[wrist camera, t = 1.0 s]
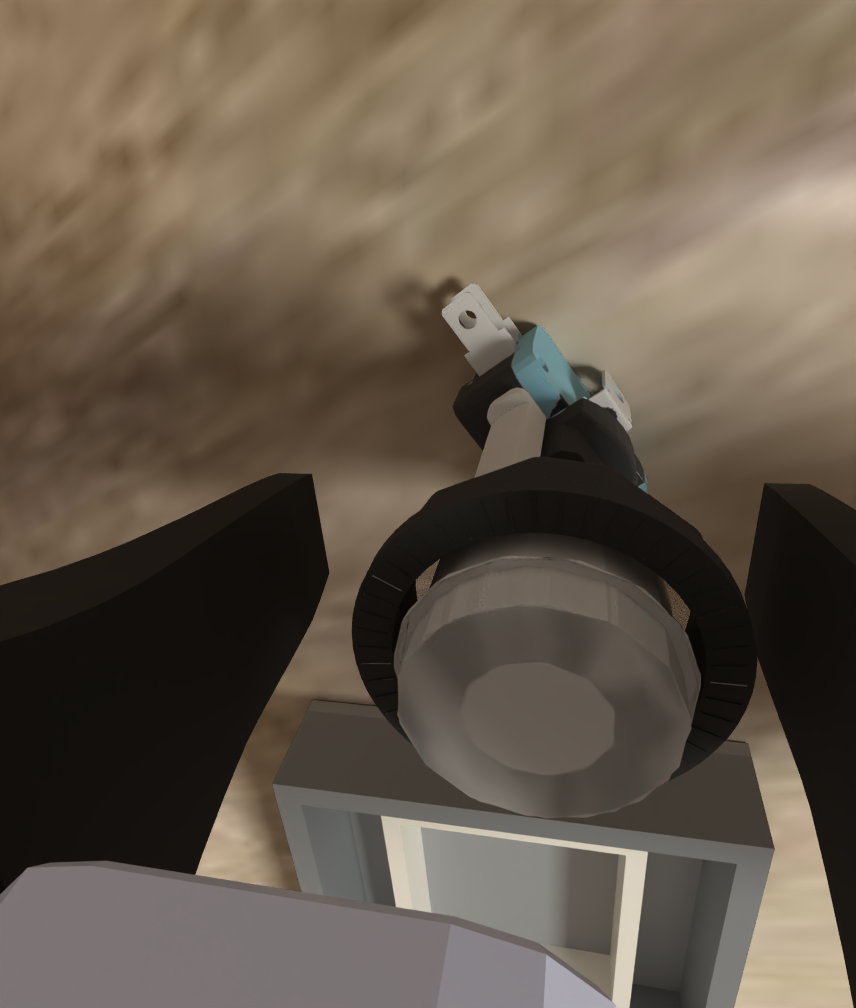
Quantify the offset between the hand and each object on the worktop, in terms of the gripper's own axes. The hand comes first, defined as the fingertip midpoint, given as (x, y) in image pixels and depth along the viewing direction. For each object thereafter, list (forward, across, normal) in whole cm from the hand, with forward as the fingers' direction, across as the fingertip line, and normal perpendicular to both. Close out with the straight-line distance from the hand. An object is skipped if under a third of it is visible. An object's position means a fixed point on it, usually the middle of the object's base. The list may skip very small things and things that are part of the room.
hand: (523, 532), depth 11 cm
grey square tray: (+6, +1, +18) cm, 19 cm away
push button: (+7, 0, 0) cm, 7 cm away
